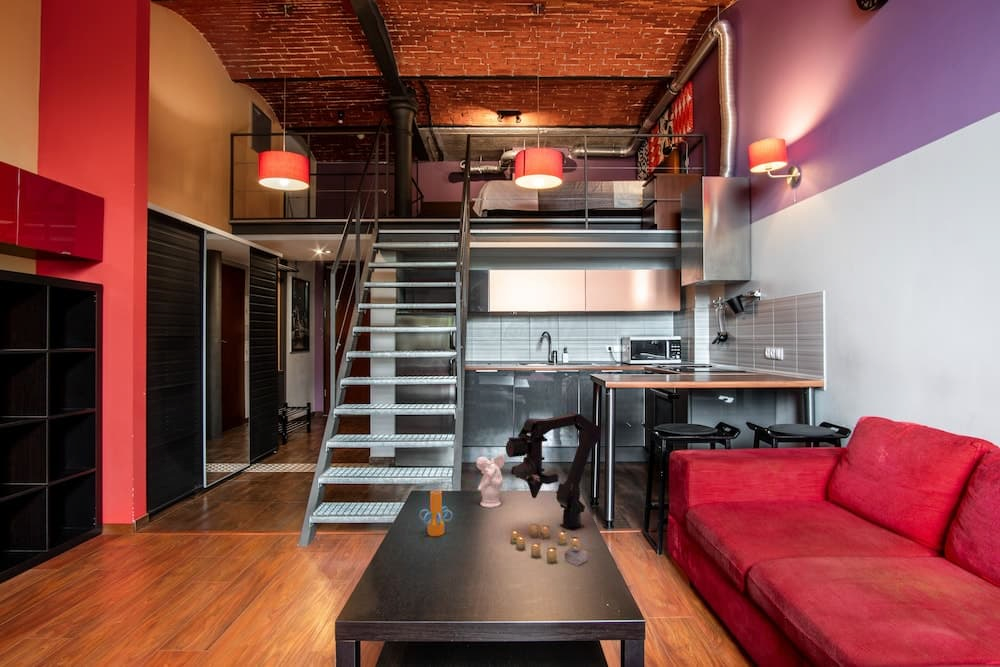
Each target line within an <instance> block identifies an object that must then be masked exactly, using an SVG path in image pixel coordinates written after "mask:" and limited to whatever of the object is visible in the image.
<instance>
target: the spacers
mask: <svg viewBox="0 0 1000 667" xmlns="http://www.w3.org/2000/svg"><path fill="white" fill-rule="evenodd" d="M539 526H540V525H539V524H537V523H531V524H529V534H530V535H529V536H530V538H531V539H538V538H539V534H541V535H540V538H541V539H542V540H544V539H547V540H550V539H551V538H550V536H551V534H550V532H551V530H550V527H551V526H550V525H547V524H542V525H541V527H540V528H539ZM539 529H541V530H539ZM549 538H550V539H549ZM580 541H581V540H580V537H579V536H572V537H570V549H571V548H573V547H576V548H579V549H581V542H580ZM510 544H511V545H516V547H515V549H516V550H517V551H519V552H522V551H526V535H522V534H520V530H518V529H511V530H510ZM557 545H558V546H563V547H564V546H567V545H568V531H566V530H558V531H557ZM530 558H532V559H540V558H541V543H540V542H538V541H535V542H531V544H530ZM546 562H547V564H550V565H554V564H557V548H556V547H554V546H550V547H547V548H546Z"/></svg>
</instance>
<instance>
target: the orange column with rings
mask: <svg viewBox="0 0 1000 667" xmlns="http://www.w3.org/2000/svg"><path fill="white" fill-rule="evenodd" d="M429 492H430V510H429V509H426V508H424V509H421V510H420V512H419V516H418V517H419V519H420V520H421V521H423V523H424V525H427V535H428V536H431V537H439V536H443V535H444V534H445V522H451V521H452V520H453V518H454V515H453V511H451V510H449V509H448V507H447V506H445V505H443V504H442V503H443V498H442V496H443V494H442V492H443V491H442V490H439V489H434V490H431V491H429ZM424 512H426V513H425V514H424V516H422V514H423V513H424ZM448 513H449V514H450V518H448V519H447V518H446V517H447V516H448Z"/></svg>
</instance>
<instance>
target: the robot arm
mask: <svg viewBox="0 0 1000 667" xmlns="http://www.w3.org/2000/svg"><path fill="white" fill-rule="evenodd" d="M570 426H573V427H574V429H576V430H577V431H578V433H577V441H578V446H577V448H576V452H575V454H574V458H573V459H572V460H573V461H572V464H571V467H570V470H569V473H568V475H567V478H566V481H564V482H563V483H561V482H560V483H559V484H558V487H557V490H556V492H555V494H556V496H555V497H556V501H557V503H559V506H560V508H563V509H564V510H563V512H562V513H563V515H562V523H561V524H560V526H561V527H562V528H565V529H569V530H571V531H575V530H577V529H581V528H583V527H584V526H585V525H584V524H583V523H581V520H582V516H581V515H582V513H584V512H585V509H586V506H585V505H584V504H583V502H581V501H580V497H581V489H580V485H581V481H582V479H583V478H582V477H583V475H584V472H585V469H586V465H587V463H588V459H589V456H590V454H591V451H592V449H593V448H594V447H595V446H596V445H597V443H598V442H599V440H600V438H601V435H602V430H601V428H600V426H599V425H598V424H594V423H593V422H591V421H590V420H589V419H587V418H586V417H584V416H583V415H582V414H581V413H578V412H577V413H576V412H571V413H569V414H568V413H567V414H563V415H559V416H558V415H557V416H553V417H548V418H538V417H537V418H536V417H535V418H532V417H531V418H530V417H529V418H528V419H525V422H524V424H523V427H522V428H521V431H520V432H519V433H518V434H517V436H516V437H508V441H507V442H506V444H505V453H506V455H507V457H508V458H515V457H516V458H517V457H523V460H522V461H523V462H521V463H519V464H518V465H513V466H512V468H511V471H510V472H511V475H514V476H515V478H518V479H520V480H523V481H524V482H526V484H527V486H528V489H529V492H530V495H531V497H532V499H536V498H537V497H538V495H539V492H540V490H541V488H542V486H543V485H551V484H555V483H558V482H559V474H558V473H555V472H551V471H547V472H545V471H546V470H545V468H544V467H543V461H545V458H546V457H544V456H543V442H548V439H547V438H546V437H545V435H546V434H548V433H549V432H551V431H553V430H557V429H562V428H566V427H570ZM543 472H544V473H543Z"/></svg>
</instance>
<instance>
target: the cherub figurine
mask: <svg viewBox="0 0 1000 667" xmlns="http://www.w3.org/2000/svg"><path fill="white" fill-rule="evenodd" d="M505 461H506V458H505V455H504V454H503V453H501V454H499V455H497V456H495V457H493V458H492V459H491V460H489V459H488V457H485V456H479V457H478V458H477V460H476V467H477V468H478V469H479V470H480V471H481V472H480V473H481V474H483V475H482V478H481V480H480V483H479V484H478V487H477V490H478V491H479V492H480V493H481V496H482V498H481V501H480V504H479V505H480V506H481V507H483V508H488V509H495V508H498V507H499V506H501V504H502V503H501V501H500V498H499V496H500V494H501V492H500V491H501V490H500V487H502V486H503V484H504V480H503V476H502V471H501V468H503V467H504V465H505Z"/></svg>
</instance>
